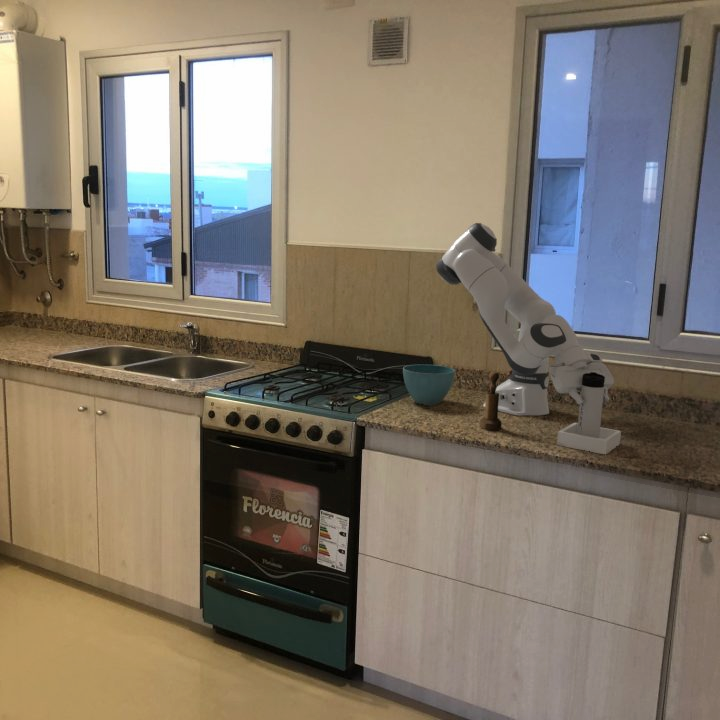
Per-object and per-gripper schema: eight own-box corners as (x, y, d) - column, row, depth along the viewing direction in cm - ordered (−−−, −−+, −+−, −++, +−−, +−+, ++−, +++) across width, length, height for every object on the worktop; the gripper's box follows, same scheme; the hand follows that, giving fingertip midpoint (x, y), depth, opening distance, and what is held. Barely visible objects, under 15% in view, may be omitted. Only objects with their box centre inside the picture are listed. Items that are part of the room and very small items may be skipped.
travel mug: (598, 439, 219) (604, 373, 215) (599, 445, 212) (605, 377, 209) (576, 437, 220) (582, 371, 217) (576, 442, 214) (582, 375, 210)
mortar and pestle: (475, 427, 231) (479, 370, 228) (487, 424, 235) (491, 368, 232) (493, 431, 226) (497, 374, 223) (505, 428, 231) (509, 371, 228)
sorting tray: (556, 444, 215) (558, 431, 214) (573, 435, 226) (574, 422, 225) (605, 454, 207) (606, 440, 206) (619, 444, 218) (621, 431, 217)
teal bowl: (390, 401, 262) (392, 367, 260) (425, 394, 274) (427, 362, 272) (428, 411, 249) (430, 375, 247) (463, 404, 261) (465, 370, 259)
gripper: (552, 358, 213) (573, 398, 207) (604, 355, 223) (626, 394, 216) (540, 370, 218) (560, 410, 211) (592, 367, 227) (613, 405, 220)
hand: (594, 402), depth 214 cm, fingers open, 8 cm apart
